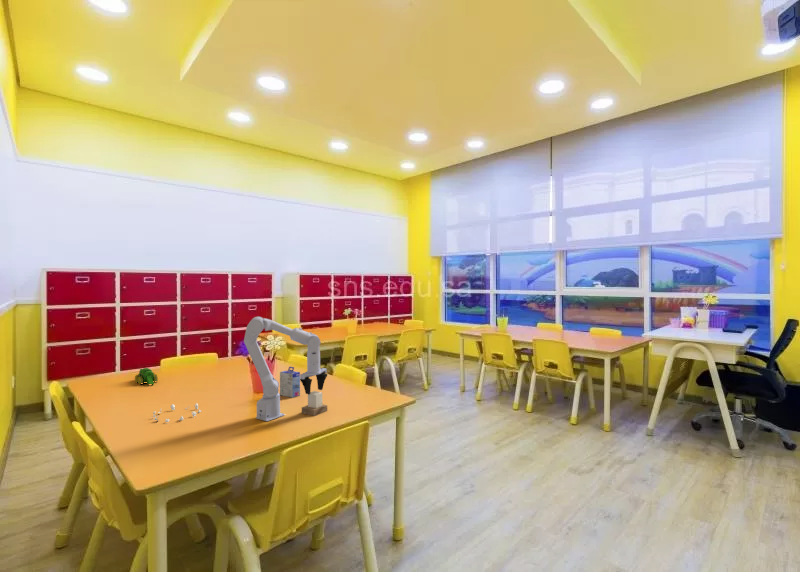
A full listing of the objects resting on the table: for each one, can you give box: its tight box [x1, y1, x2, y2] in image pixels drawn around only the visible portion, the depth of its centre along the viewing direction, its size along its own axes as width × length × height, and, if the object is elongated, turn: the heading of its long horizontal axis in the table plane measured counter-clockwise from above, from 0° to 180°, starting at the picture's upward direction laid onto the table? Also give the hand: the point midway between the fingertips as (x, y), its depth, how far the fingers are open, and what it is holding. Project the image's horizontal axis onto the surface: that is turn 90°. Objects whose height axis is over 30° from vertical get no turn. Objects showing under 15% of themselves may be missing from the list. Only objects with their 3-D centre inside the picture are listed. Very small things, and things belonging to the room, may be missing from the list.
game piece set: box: [150, 403, 202, 423], centre depth 176 cm, size 19×20×4 cm
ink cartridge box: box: [279, 366, 301, 398], centre depth 204 cm, size 10×6×14 cm, turn 58°
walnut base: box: [301, 403, 328, 417], centre depth 177 cm, size 8×8×3 cm
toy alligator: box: [134, 367, 159, 385], centre depth 238 cm, size 10×32×9 cm, turn 44°
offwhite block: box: [307, 390, 324, 408], centre depth 177 cm, size 4×5×6 cm
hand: (314, 391), depth 177 cm, fingers open, 7 cm apart
